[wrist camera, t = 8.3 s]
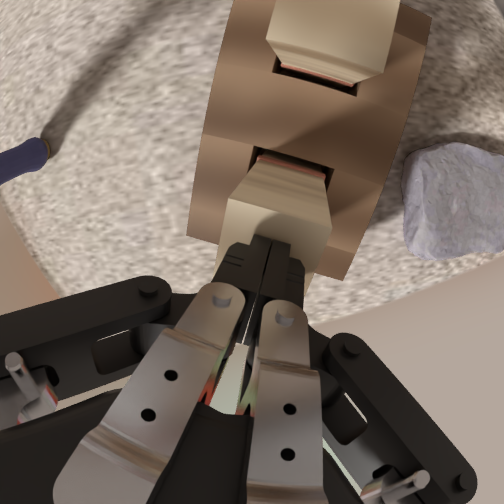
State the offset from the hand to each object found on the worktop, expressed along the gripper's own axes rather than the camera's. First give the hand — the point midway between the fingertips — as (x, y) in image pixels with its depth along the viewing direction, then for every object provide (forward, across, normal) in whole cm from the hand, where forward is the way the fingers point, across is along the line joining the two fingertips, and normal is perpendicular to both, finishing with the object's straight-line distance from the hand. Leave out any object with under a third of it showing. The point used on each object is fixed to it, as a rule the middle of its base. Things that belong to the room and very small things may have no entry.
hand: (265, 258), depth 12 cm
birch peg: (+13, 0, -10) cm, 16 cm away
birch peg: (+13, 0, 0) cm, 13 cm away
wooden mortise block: (+14, 0, -5) cm, 15 cm away
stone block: (+15, -15, -4) cm, 22 cm away
